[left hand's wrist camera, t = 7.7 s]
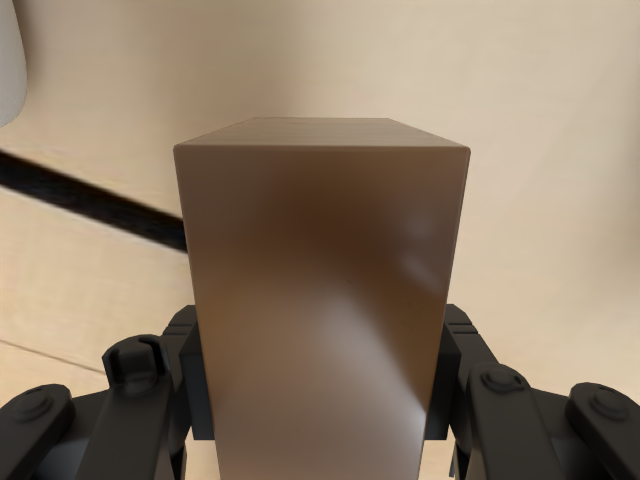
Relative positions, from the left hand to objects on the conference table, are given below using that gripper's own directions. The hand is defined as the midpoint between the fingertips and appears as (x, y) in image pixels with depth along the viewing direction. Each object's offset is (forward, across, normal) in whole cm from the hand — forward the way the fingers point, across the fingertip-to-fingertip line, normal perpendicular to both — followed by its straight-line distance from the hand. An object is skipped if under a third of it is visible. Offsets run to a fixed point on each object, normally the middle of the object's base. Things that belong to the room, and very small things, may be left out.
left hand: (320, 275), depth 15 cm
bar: (+1, 0, -31) cm, 31 cm away
